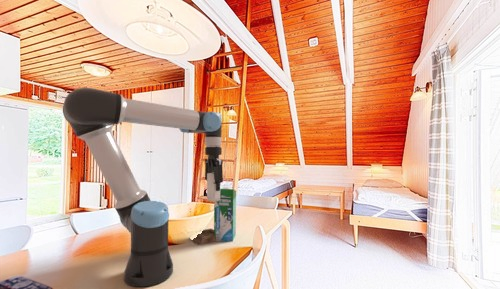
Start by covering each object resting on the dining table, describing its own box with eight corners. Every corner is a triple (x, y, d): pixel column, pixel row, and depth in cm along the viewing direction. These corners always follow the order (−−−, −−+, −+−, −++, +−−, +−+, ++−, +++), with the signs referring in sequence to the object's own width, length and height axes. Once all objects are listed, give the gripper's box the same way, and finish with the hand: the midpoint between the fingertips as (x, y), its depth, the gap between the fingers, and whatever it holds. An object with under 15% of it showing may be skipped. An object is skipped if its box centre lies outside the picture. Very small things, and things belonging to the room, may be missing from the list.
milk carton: (235, 235, 123) (236, 185, 123) (232, 242, 114) (233, 189, 114) (218, 234, 124) (218, 185, 124) (213, 241, 115) (214, 188, 115)
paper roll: (211, 201, 108) (211, 173, 108) (204, 199, 112) (204, 172, 112) (222, 199, 111) (222, 173, 111) (216, 197, 116) (216, 172, 116)
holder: (198, 245, 109) (198, 239, 109) (188, 238, 117) (188, 232, 117) (224, 238, 118) (224, 232, 118) (214, 232, 125) (214, 227, 126)
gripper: (231, 146, 107) (231, 199, 106) (211, 146, 122) (211, 192, 122) (215, 146, 102) (215, 201, 102) (197, 146, 118) (197, 194, 118)
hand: (213, 196), depth 112 cm, fingers closed on paper roll, 6 cm apart
